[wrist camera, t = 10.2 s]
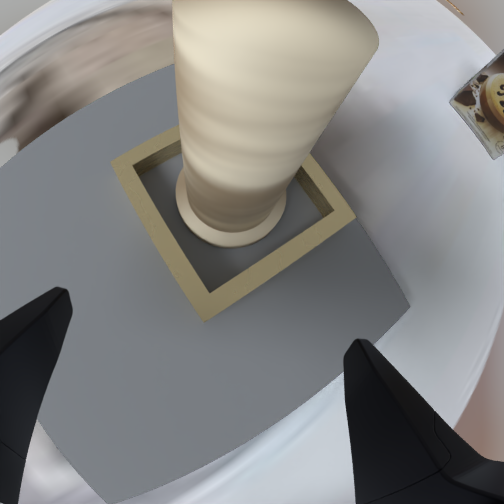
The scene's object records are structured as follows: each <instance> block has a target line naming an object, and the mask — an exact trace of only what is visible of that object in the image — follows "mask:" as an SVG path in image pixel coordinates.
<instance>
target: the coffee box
mask: <svg viewBox="0 0 504 504" xmlns="http://www.w3.org/2000/svg"><path fill="white" fill-rule="evenodd" d="M450 104H451V105H452V106H453V107H454V109H455V110H456V111H457V112H458V113H459V114H460V116H461V117H462V118H463V119H464V121H465V122H466V123H467V124H468V126H469V127H470V128H471V129H472V131H473V132H474V133H475V135H476V136H477V137H478V139H479V140H480V141H481V143H482V144H483V146H484V147H485V148H486V150H487V151H488V153H489V154H490V156H491V157H492V159H493V160H494V159H496V158H498V157H499V156H501V155H502V154H504V49H503V50H502V51H501V52H500V53H499V54H498V55H497V56H496V57H495V58H493V59H492V60H491V61H490V62H489V63H488V64H487V65H486V66H485V67H484V68H483V69H481V70H480V71H479V72H478V73H477V74H476V75H475V76H474V77H473V78H471V79H470V80H469V81H468V82H467V83H466V84H465V85H464V86H463V87H462V88H461V89H459V90H458V92H457V93H456V94H455V95H454V96H453V97H452V99H451V100H450Z"/></svg>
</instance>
